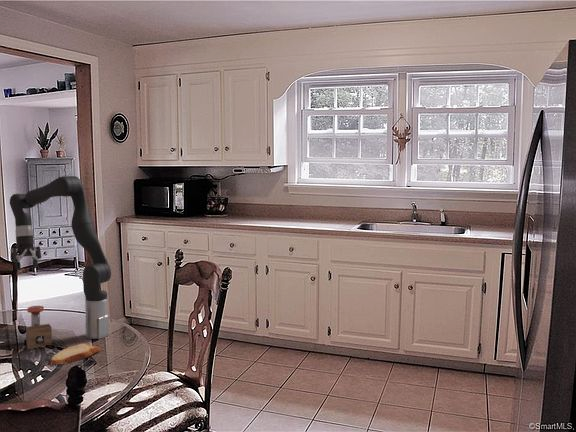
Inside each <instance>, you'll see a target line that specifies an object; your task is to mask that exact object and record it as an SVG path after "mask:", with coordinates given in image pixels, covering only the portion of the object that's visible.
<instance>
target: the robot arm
mask: <svg viewBox="0 0 576 432" xmlns="http://www.w3.org/2000/svg"><path fill="white" fill-rule="evenodd" d="M54 197H56V198H57V197H66V198H67V197H71V200H72V204H73V213H72V218H71V229H72V234H73V236H74V239H75V241H76V242H77V243H78V244H79V245H80V246H81V247H82V248H83V250H85V251H86V252H87V254H88V256H90V259H91V261H92V264H89V265H86V266H85V267H84V269H83V272H82V286H83V293H84V296H85V307H84V308H85V309H84V310H85V338H87V339H92V340H96V339H97V340H101V339H103V338H105V337H106V338H107V337H108V336H110V332H109V331H110V316H109V315H110V314H108V293H107V291H106V290H103V289H101V288H100V284H103V283H107V282H109V281H110V279H111V277H112V271H111V266H110V264H109V262H108V259H107V258H106V255H105V253H104V250H103V248H102V246H101V243H100V240H99V238H98V233H97V231H96V228H95V224H94V222H93V219H92V216H91V213H90V210H89V207H88V203H87V199H86V193H85V189H84V185H83V182H82V181H81V179H80V178H79V177H78V176H74V175H67V176H66V175H65V176H64V175H63V176H59V177H57V178H55V179H54V180H52V181H50V182H49V183H47V184H45V185H43V186H39V187H37V188H34V189H30V190H29V191H27V192H26V193H13V194H12V195H11V196H10V198H9V205H10V206H9V207H10V208H11V212H12V214H13V217H14V220H15V221H14V224H15V225H14V226H15V244H16V247H12V248H10V261H11V262H14V263H15V264H14V265H15V270H16V271H21V270H22V269H21V268H22V265H21V260H22V259H23V258H25V257H29V258H31V260H32V268H33V269H37V268H38V266H39V262H38V260H40V259H42V251H41V247H40V246H39V245H38V246H35V245H34V244H35V239H34V230H33V229H34V228H33V222H32V221H33V220H32V215H31V214H30V213H28V212H25V211H24V209H26V210H27V209H32V208H34V207H35V206H36V205H39V204H42V203H45V202H47V201H49V199H50V198H54Z"/></svg>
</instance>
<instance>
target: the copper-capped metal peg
mask: <svg viewBox="0 0 576 432" xmlns="http://www.w3.org/2000/svg"><path fill="white" fill-rule="evenodd" d="M43 311H45V309H44V306H43V305H32V306H28V307H27V311H26V313H27V312H28V313H29V314H30V315H31V317H30V319H31V320H30V322H31V326H37V325H41V313H42V312H43ZM36 340H37V341H38V342H39V343H42V342H43V339H42V336H38V337H36Z"/></svg>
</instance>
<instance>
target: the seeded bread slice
mask: <svg viewBox="0 0 576 432" xmlns="http://www.w3.org/2000/svg"><path fill="white" fill-rule="evenodd" d="M100 351H101V348H100V346H94V345H91V344H89V343H84V342H83V343H79V344H75V345H72V346H69V347H66V348H64V349H61V350H60V351H59V352H57V353H55V354H53V356H52V357H51V358H50V361H49V363H50V362H51V363H52V364H64V363H69V364H72V363H74V362H78V361H81V360H84V359H86V358H90V357H91V356H94V354H97V353H99V352H100Z"/></svg>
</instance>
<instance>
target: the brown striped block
mask: <svg viewBox="0 0 576 432" xmlns="http://www.w3.org/2000/svg"><path fill="white" fill-rule="evenodd" d="M25 335H26V336H25V339H26V341H25V342H26V344H25V345H26V348H27V350H28V351H30V350H34V349H33V348H36V349H38V348H37V347H41V346H45V345H53V344H52V343H53V342H52V341H53V340H52V338H53V337H52V326H51V324H50V323H45V324H40V325H37V326H25ZM38 336H41V337H42V339H43V342H42V343H39V342H38V341H37V340H36V337H38ZM29 349H30V350H29Z"/></svg>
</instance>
